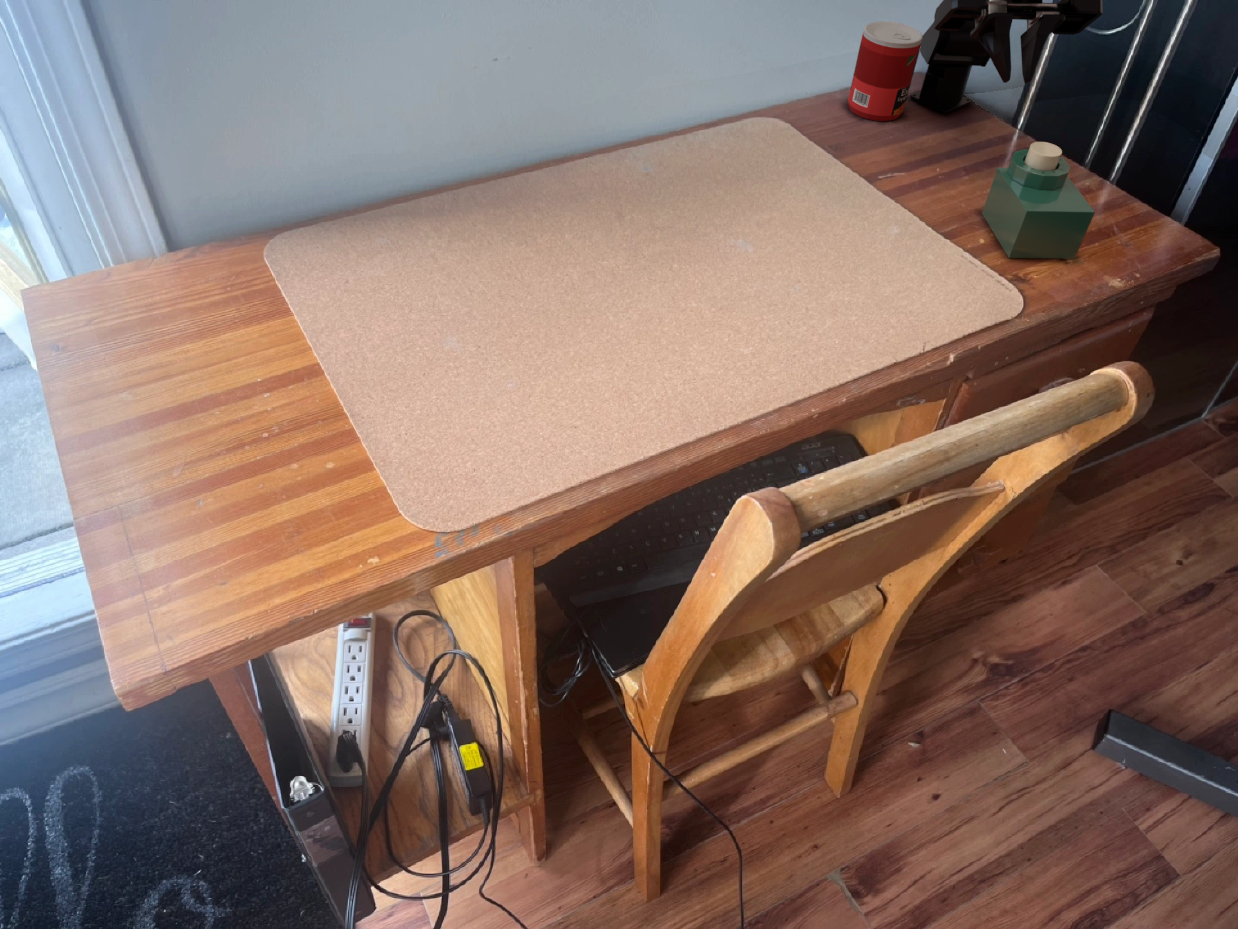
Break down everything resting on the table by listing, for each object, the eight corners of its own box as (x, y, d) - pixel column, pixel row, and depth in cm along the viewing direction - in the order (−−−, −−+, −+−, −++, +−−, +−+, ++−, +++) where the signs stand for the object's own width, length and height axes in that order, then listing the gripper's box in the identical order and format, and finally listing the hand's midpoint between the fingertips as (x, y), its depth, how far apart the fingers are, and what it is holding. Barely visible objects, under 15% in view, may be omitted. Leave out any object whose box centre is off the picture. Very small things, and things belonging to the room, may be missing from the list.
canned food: (902, 125, 138) (923, 46, 130) (845, 117, 139) (863, 38, 131) (902, 102, 143) (922, 25, 136) (847, 94, 144) (864, 17, 136)
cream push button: (1019, 157, 116) (1025, 141, 115) (1049, 157, 116) (1055, 141, 115) (1030, 172, 114) (1036, 155, 112) (1060, 172, 114) (1067, 156, 113)
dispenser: (978, 208, 122) (998, 147, 117) (1040, 209, 123) (1063, 149, 117) (1008, 258, 114) (1032, 196, 109) (1074, 259, 115) (1101, 197, 109)
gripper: (971, -87, 111) (971, 51, 111) (1129, -81, 112) (1130, 56, 112) (932, -37, 122) (932, 89, 122) (1077, -31, 123) (1077, 93, 123)
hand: (1017, 81), depth 120 cm, fingers closed
